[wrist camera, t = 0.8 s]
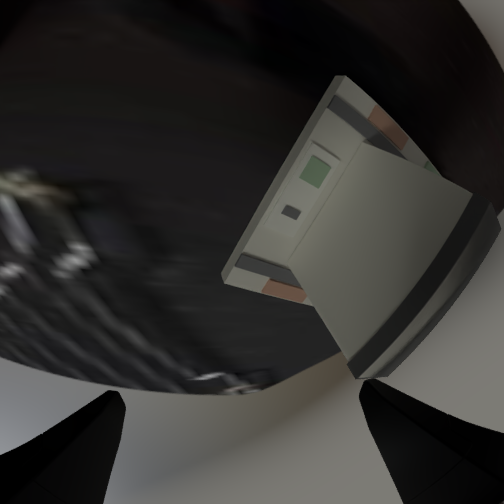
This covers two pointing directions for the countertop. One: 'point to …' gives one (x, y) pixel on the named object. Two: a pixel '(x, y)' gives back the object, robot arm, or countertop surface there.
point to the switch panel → (312, 186)
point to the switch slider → (390, 257)
